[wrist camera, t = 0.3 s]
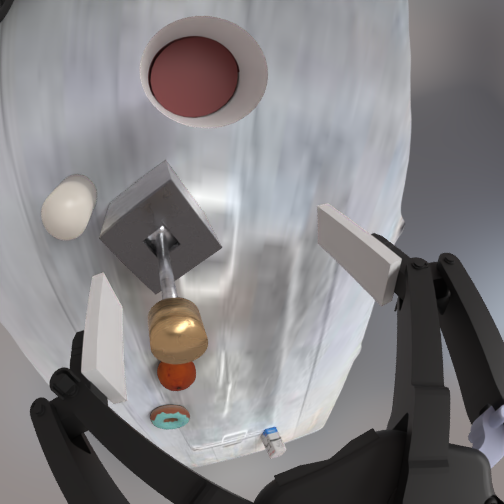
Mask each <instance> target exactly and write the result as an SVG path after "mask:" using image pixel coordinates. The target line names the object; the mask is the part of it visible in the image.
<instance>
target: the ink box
mask: <svg viewBox="0 0 504 504" xmlns="http://www.w3.org/2000/svg"><path fill="white" fill-rule="evenodd" d="M261 439H262V441H263V443H264V446H265V448H266V450H267V452H268V454H269V457H270V458H275V457H279V456H281V455H282V454H283V453H284V452H285V451H286V447H285V445H284V443H283V441H282V439H281V437H280V435H279V433H278V431H277V429H276V427H273V428H269V429H265V431H264V432H263V434H262V436H261Z"/></svg>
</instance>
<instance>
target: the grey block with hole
mask: <svg viewBox="0 0 504 504" xmlns="http://www.w3.org/2000/svg"><path fill="white" fill-rule="evenodd" d="M163 225H165V226H166V227H167V229H168V230H169V231H170V232H171V233H172V235H173V236H174V237H175V238H176V239H177V240H178V243H176V244H175V245H173V246H172V247H171V248H169V255H170V260H171V266H172V271H173V276H174V281H175V280H177V279H178V278H180V277H181V276H183V275H184V274H185V273H187V272H188V271H190V270H191V269H192V268H194V267H195V266H197V265H198V264H200V263H201V262H202V261H204V260H205V259H207V258H208V257H210V256H211V255H213V254H214V253H215V252H217V251H218V250H220V249H221V248H222V246H221V244H220V242H219V240H218V238H217V236H216V234H215V232H214V230H213V228H212V226H211V224H210V222H209V220H208V218H207V216H206V215H205V213H204V211H203V210H202V208H201V207H200V206H199V204H198V203H197V202H196V200H195V199H194V198H193V196H192V195H191V193H190V192H189V191H188V189H187V188H186V187H185V185H184V184H183V182H182V181H181V180H180V178H179V177H178V176H177V174H176V173H175V171H174V170H173V169H172V167H171V166H170V165H169V163H168V162H167V160H164V161H163V162H162V163H160V164H159V165H158V166H156V167H155V168H154V169H152V170H151V171H150V172H148V173H147V174H146V175H144V176H143V177H142V178H140V179H139V180H138V181H137V182H135V183H134V184H133V185H131V186H130V187H129V188H128V189H126V190H125V191H124V192H123V193H122V194H120V195H119V196H118V197H117V198H115V199H114V200H113V201H112V202H111V203H110V204H109V207H108V211H107V214H106V217H105V220H104V223H103V227H102V230H101V234H100V237H99V239H100V240H101V241H102V242H103V243H104V244H105V245H106V246H107V247H108V248H109V249H110V250H111V251H112V252H113V253H114V254H115V255H116V256H117V257H118V258H119V259H120V260H121V261H122V262H123V263H124V264H125V265H126V266H127V267H128V268H129V269H130V270H131V271H132V272H133V273H134V274H135V275H136V276H137V277H138V278H139V279H140V280H141V281H142V282H143V283H144V284H145V285H146V286H147V287H148V288H149V289H151V290H152V291H153V292H154V293H155V294H157V293H159V292H160V291H161V283H160V275H159V267H158V258H157V253H156V252H155V251H154V250H153V249H152V248H151V247H150V246H149V245H148V244H147V242H146V241H145V239H146V238H148V237H149V236H150V235H151V234H153V233H154V232H155V231H157V230H158V229H159V228H161V227H162V226H163Z"/></svg>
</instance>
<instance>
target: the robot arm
mask: <svg viewBox="0 0 504 504" xmlns="http://www.w3.org/2000/svg"><path fill="white" fill-rule="evenodd" d="M13 1H14V0H0V22H1V21H2V19H3V18H4V17H5V15H6V14H7V12H8V10H9V9H10V7H11V5H12V3H13ZM317 212H318V244H319V245H320V246H321V247H322V248H323V249H324V250H325V251H326V252H328V253H329V254H330V255H331V256H332V257H333V258H334V259H335V260H336V261H337V262H338V263H339V264H340V265H341V266H342V267H343V268H344V269H345V270H346V271H347V272H348V273H349V274H350V275H351V276H352V277H353V278H354V279H355V280H356V281H357V282H358V283H359V284H360V285H361V286H362V287H363V288H364V289H365V290H366V291H367V292H368V293H369V294H370V295H371V296H372V297H373V298H374V299H375V301H376V302H378V304H379V305H380V306H383V305H385V304H387V303H389V302H391V301H392V298H393V294H394V292H395V293H396V294H397V295H398V300H397V304H396V307H395V310H394V311H396V310H397V357H396V373H395V387H394V397H393V406H392V413H391V417H390V419H389V422H388V425H387V430H381V431H376V432H375V431H374V429H370V430H369V431H367V432H365V433H364V434H362V435H360V436H358V437H357V438H355V439H353V440H351V441H350V442H349V443H348V444H347V445H346V446H344V447H343V448H342V449H341V450H340V451H339V452H337V453H336V454H335V455H334V456H333V457H332V458H330V459H328V460H324V461H320V462H315V463H310V464H306V465H300V466H297V467H295V468H293V469H290V470H288V471H285V472H283V473H280V474H278V475H275V476H274V477H275V480H273V481H272V482H270V483H269V484H268V485H266V486H265V487H264V489H262V490H261V492H260V493H259V494H258V496H257V497H256V499H255V501H254V503H253V502H251V501H249V500H246V499H244V498H242V497H240V496H238V495H236V494H234V493H232V492H230V491H228V490H226V489H224V488H222V487H221V486H219V485H217V484H215V483H213V482H211V481H210V480H208V479H206V478H205V477H203V476H201V475H200V474H198V473H196V472H194V471H193V470H191V469H190V468H188V467H187V466H185V465H184V464H182V463H180V462H179V461H177V460H176V459H174V458H173V457H172V456H170V455H169V454H167V453H166V452H164V451H163V450H162V449H160V448H159V447H157V446H156V445H155V444H153V443H152V442H151V441H149V440H148V439H147V438H145V437H144V436H143V435H142V434H140V433H139V432H138V431H137V430H135V429H134V428H133V427H132V426H130V425H129V424H128V423H127V422H126V421H124V420H123V419H122V418H121V417H120V416H119V415H118V414H116V413H115V412H114V411H113V410H112V409H111V408H110V407H108V400H107V399H109V400H110V401H111V402H112V403H113V404H116V403H121V402H125V401H127V392H126V381H125V368H124V351H123V307H122V305H121V304H120V302H119V300H118V298H117V296H116V295H115V293H114V291H113V289H112V287H111V285H110V283H109V282H108V280H107V278H106V276H105V274H104V272H103V273H100V274H97V275H94V276H92V281H91V286H90V292H89V299H88V306H87V313H86V321H85V329H84V330H83V331H80V332H77V333H76V335H75V337H74V339H73V341H72V351H71V359H70V369H68V368H60V369H58V370H57V371H55V372H54V374H53V375H52V376H51V379H50V388H51V390H52V391H53V392H54V393H55V394H56V395H57V396H58V397H57V398H55V399H53V400H52V401H50V402H49V401H48V400H47V399H45V398H38V399H36V400H35V401H34V402H33V403H32V405H31V409H30V416H31V419H32V422H33V425H34V428H35V431H36V434H37V437H38V439H39V442H40V445H41V447H42V450H43V452H44V455H45V457H46V459H47V462H48V464H49V466H50V468H51V471H52V473H53V475H54V477H55V479H56V481H57V483H58V485H59V487H60V489H61V491H62V493H63V494H64V497H65V498H66V500H67V502H68V504H130V503H129V502H128V501H127V499H126V498H125V497H124V495H123V494H122V493H121V491H120V490H119V489H118V487H117V486H116V484H115V483H114V481H113V480H112V478H111V477H110V475H109V474H108V472H107V471H106V469H105V468H104V466H103V465H102V463H101V461H100V460H99V458H98V456H97V455H96V453H95V451H94V450H93V448H92V446H91V445H90V443H89V441H88V439H87V437H86V436H85V434H84V432H86V431H88V430H89V431H90V432H91V433H92V434H93V435H94V436H95V437H96V438H97V439H98V440H99V441H100V442H101V443H102V444H103V445H104V446H105V447H106V448H107V449H108V450H109V451H110V452H111V453H112V454H113V455H114V456H115V457H116V458H117V459H118V460H119V461H121V462H122V463H123V464H124V465H125V466H126V467H127V468H129V469H130V470H131V471H132V472H133V473H134V474H136V475H137V476H138V477H139V478H140V479H142V480H143V481H144V482H146V483H147V484H148V485H149V486H150V487H152V488H153V489H154V490H156V491H157V492H158V493H160V494H161V495H163V496H164V497H165V498H167V499H168V500H170V501H171V502H173V503H174V504H504V502H503V501H501V500H500V499H499V498H498V497H497V496H496V494H495V492H494V489H493V485H492V478H491V468H492V467H493V466H494V465H495V464H496V463H497V462H498V461H499V460H500V459H501V458H502V457H503V456H504V342H503V340H502V338H501V335H500V333H499V331H498V329H497V327H496V325H495V323H494V321H493V319H492V317H491V315H490V313H489V311H488V309H487V307H486V305H485V303H484V301H483V299H482V297H481V296H480V294H479V292H478V290H477V289H476V287H475V285H474V283H473V282H472V280H471V278H470V277H469V275H468V273H467V272H466V270H465V268H464V267H463V265H462V263H461V262H460V260H459V259H458V258H457V257H456V256H454V255H453V254H451V253H443V254H441V255H440V256H439V259H438V262H432V263H427V261H425V260H424V259H421V258H409V257H408V256H407V255H406V254H404V253H403V252H402V251H401V250H400V249H398V248H397V247H395V246H394V245H393V244H392V243H391V242H389V241H388V240H387V239H385V238H384V237H383V236H380V235H378V234H375V233H373V234H369V233H368V232H367V231H365V230H364V229H363V228H361V227H360V226H359V225H357V224H356V223H355V222H353V221H352V220H351V219H349V218H348V217H347V216H345V215H344V214H342V213H341V212H340V211H338V210H337V209H335V208H334V207H333V206H331V205H330V204H328V203H326V204H323V205H319V206H317ZM440 328H441V331H442V333H443V336H444V339H445V342H446V345H447V348H448V350H449V353H450V356H451V360H452V363H453V366H454V369H455V372H456V376H457V379H458V382H459V386H460V390H461V393H462V397H463V401H464V405H465V408H466V412H467V415H468V417H469V420H470V422H471V424H472V426H471V432H470V433H469V436H468V438H469V441H470V442H471V443H473V447H472V448H470V447H464V446H460V445H455V444H450V443H449V429H450V390H449V388H447V387H445V386H444V379H443V378H444V377H443V359H442V358H443V357H442V344H441V333H440Z"/></svg>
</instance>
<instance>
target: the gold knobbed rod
mask: <svg viewBox="0 0 504 504" xmlns="http://www.w3.org/2000/svg"><path fill="white" fill-rule="evenodd" d="M145 241H146V242H147V244H148V245H149V246H150V247H151V248H152V249H153V250H154V251H155V252H156V253H157V258H158V267H159V275H160V283H161V291H162V298H163V300H161V301H159V302H158V303H156V304H155V305H154V306H153V307H152V308H151V309H150V311H149V314H148V327H149V337H150V346H151V351H152V354H153V355H154V356H155V357H156V358H157V359H158V360H160V361H162V362H164V363H168V364H185V363H189V362H191V361H194V360H196V359H197V358H199V357H200V356H201V355H202V354H203V353H204V352H205V351H206V349H207V346H208V339H207V336H206V332H205V329H204V326H203V323H202V319H201V316H200V313H199V310H198V308H197V306H196V305H195V304H194V303H193V302H191V301H189V300H187V299H184V298H178V296H177V291H176V286H175V281H174V276H173V271H172V266H171V260H170V255H169V248H171V247H172V246H173V245H175V244H176V243H178V240H177V239H176V238H175V237H174V236H173V235H172V233H171V232H170V231H169V230H168V229H167V227H166V226H165V225H163V226H162V227H161V228H159V229H158V230H157V231H155V232H154V233H153V234H151V235H150V236H149V237H148V238H146V239H145Z"/></svg>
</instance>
